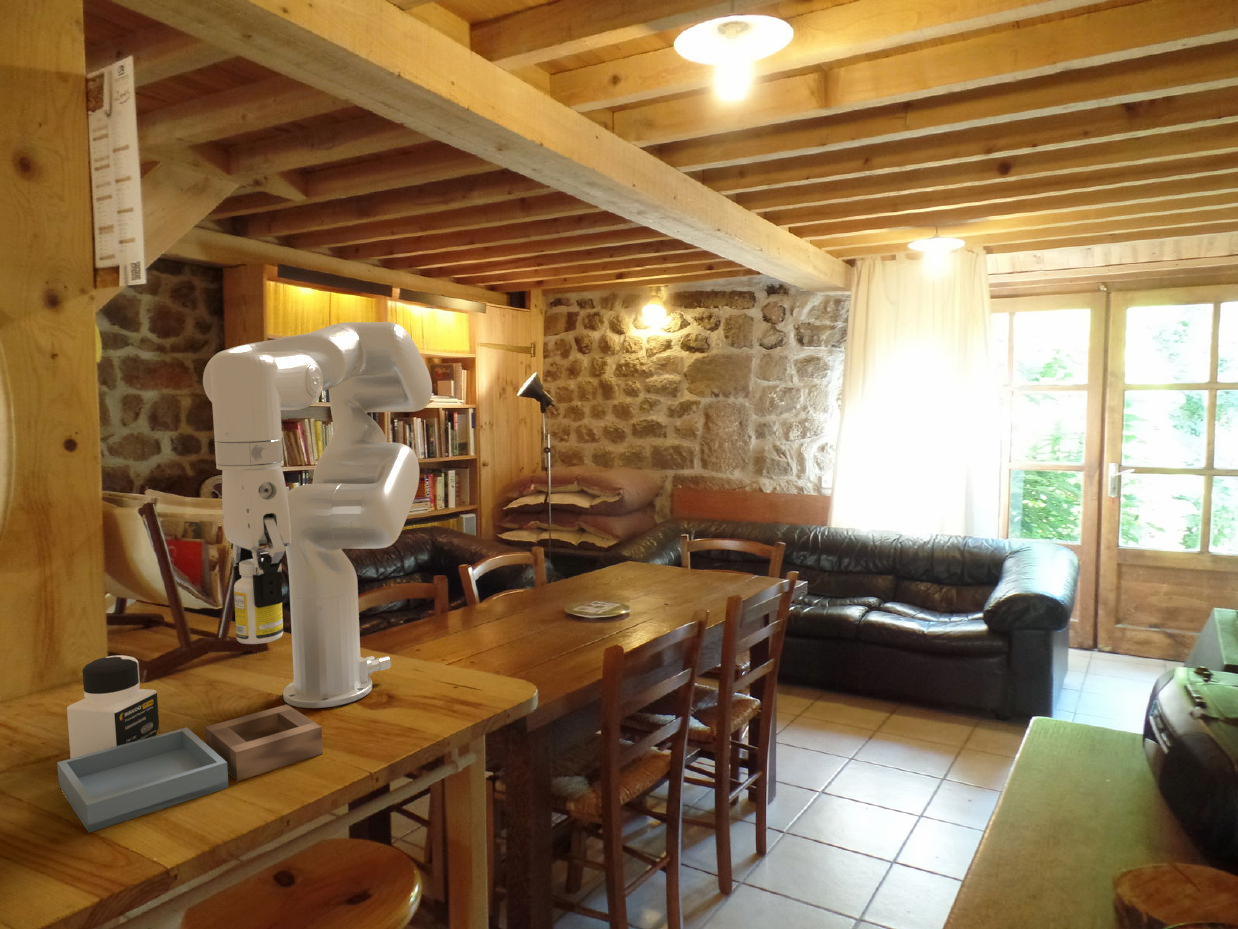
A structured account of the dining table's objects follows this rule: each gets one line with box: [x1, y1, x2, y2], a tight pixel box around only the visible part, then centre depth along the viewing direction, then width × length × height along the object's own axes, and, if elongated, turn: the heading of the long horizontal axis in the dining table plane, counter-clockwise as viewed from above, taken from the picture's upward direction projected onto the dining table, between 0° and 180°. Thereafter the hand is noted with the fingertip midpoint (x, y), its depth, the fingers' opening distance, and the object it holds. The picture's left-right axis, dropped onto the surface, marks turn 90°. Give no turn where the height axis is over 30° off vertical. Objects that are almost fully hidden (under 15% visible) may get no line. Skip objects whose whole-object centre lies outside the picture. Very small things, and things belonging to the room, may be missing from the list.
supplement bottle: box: [233, 557, 284, 645], centre depth 105 cm, size 5×5×10 cm
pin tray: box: [56, 726, 229, 834], centre depth 98 cm, size 14×14×3 cm
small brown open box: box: [204, 704, 324, 782], centre depth 106 cm, size 10×10×4 cm
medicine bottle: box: [66, 654, 161, 759], centre depth 107 cm, size 7×7×12 cm
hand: (258, 598), depth 105 cm, fingers closed on supplement bottle, 5 cm apart
